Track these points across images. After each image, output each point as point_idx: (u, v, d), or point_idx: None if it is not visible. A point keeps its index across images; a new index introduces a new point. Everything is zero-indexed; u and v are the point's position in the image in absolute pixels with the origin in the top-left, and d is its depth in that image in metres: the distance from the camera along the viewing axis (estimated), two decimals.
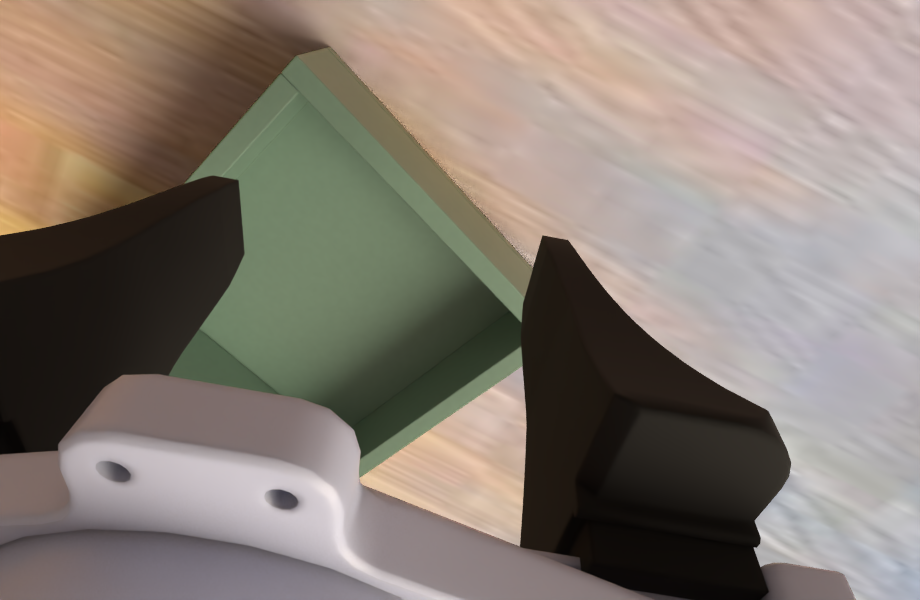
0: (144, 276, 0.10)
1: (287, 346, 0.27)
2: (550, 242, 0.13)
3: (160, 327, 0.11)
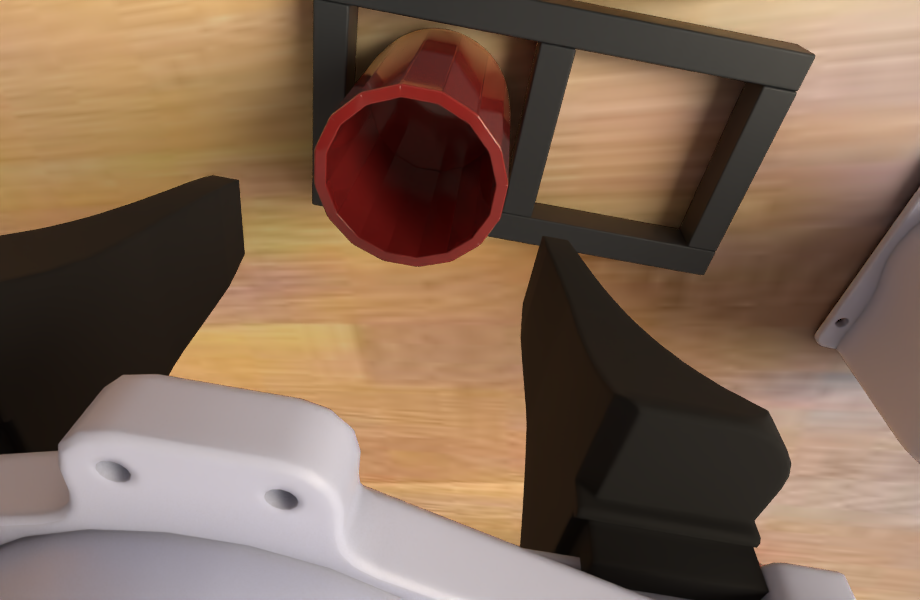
0: (144, 276, 0.10)
1: None
2: (550, 242, 0.13)
3: (160, 327, 0.11)
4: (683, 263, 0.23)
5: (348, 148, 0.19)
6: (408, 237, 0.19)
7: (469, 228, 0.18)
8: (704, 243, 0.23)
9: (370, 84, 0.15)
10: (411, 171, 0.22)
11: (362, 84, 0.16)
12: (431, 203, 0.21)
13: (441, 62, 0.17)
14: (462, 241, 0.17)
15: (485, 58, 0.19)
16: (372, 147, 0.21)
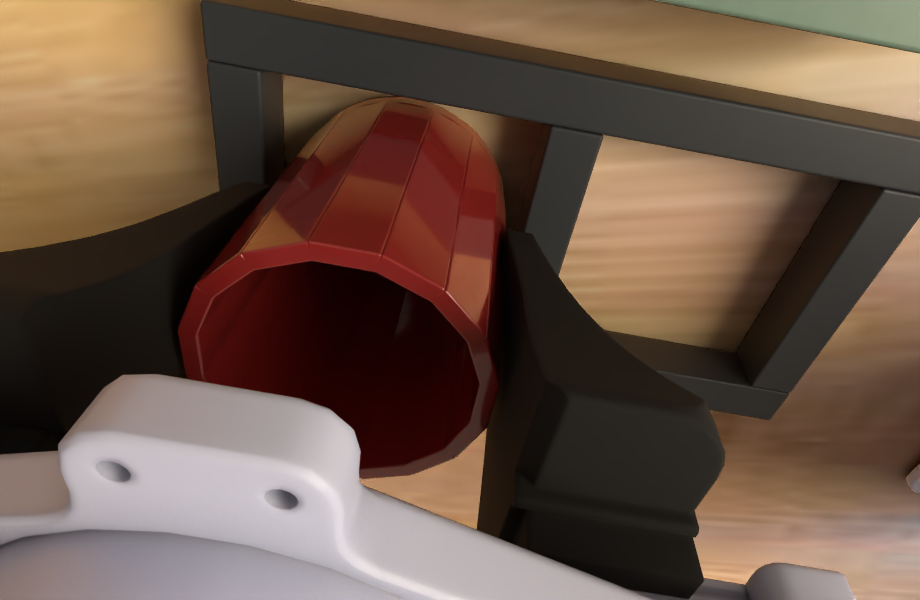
0: (187, 283, 0.10)
1: None
2: (513, 235, 0.13)
3: None
4: (743, 406, 0.17)
5: (259, 287, 0.12)
6: (349, 422, 0.12)
7: (440, 421, 0.11)
8: (774, 383, 0.16)
9: (263, 231, 0.09)
10: (367, 287, 0.16)
11: (258, 219, 0.10)
12: (391, 347, 0.14)
13: (392, 174, 0.10)
14: (428, 447, 0.11)
15: (467, 145, 0.13)
16: (307, 262, 0.15)
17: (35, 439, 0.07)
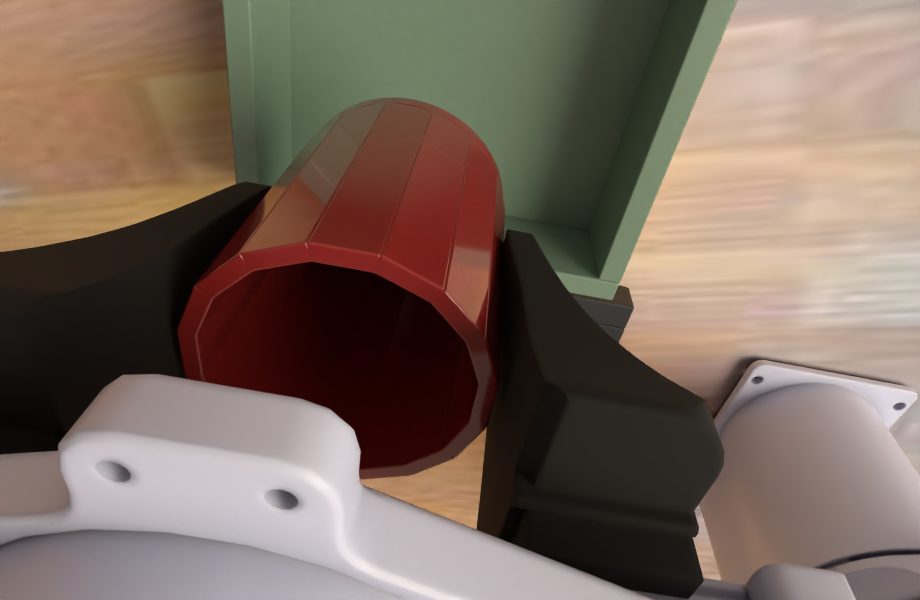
0: (187, 283, 0.10)
1: None
2: (513, 235, 0.13)
3: None
4: None
5: (258, 288, 0.12)
6: (349, 422, 0.12)
7: (439, 421, 0.11)
8: None
9: (262, 231, 0.09)
10: (367, 287, 0.16)
11: (258, 219, 0.10)
12: (391, 348, 0.14)
13: (392, 175, 0.10)
14: (427, 448, 0.11)
15: (467, 146, 0.13)
16: (307, 263, 0.15)
17: (35, 439, 0.07)
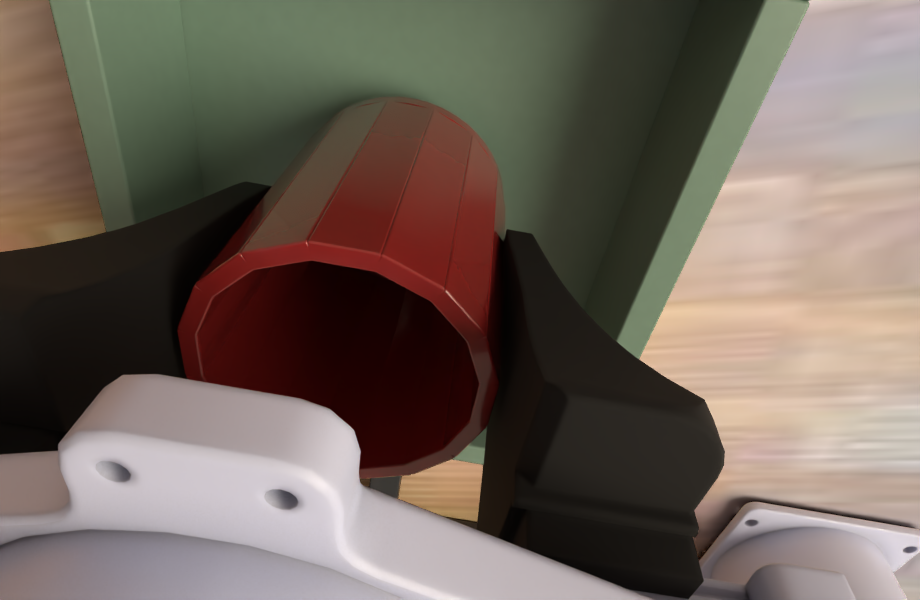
0: (187, 283, 0.10)
1: None
2: (513, 235, 0.13)
3: None
4: None
5: (259, 287, 0.12)
6: (349, 422, 0.12)
7: (440, 421, 0.11)
8: None
9: (262, 230, 0.09)
10: (367, 287, 0.16)
11: (258, 218, 0.10)
12: (391, 347, 0.14)
13: (392, 174, 0.10)
14: (428, 446, 0.11)
15: (467, 145, 0.13)
16: (307, 262, 0.15)
17: (35, 439, 0.07)
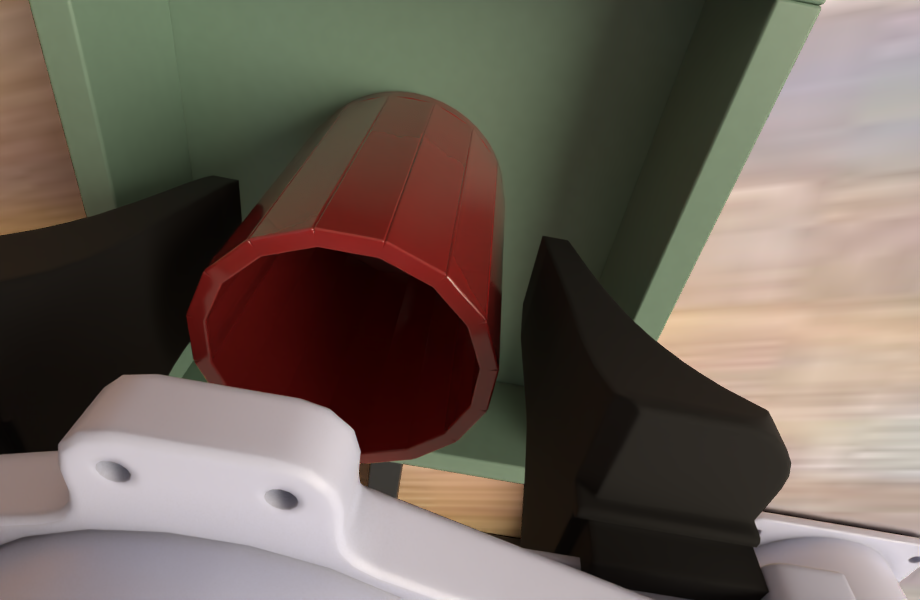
0: (144, 276, 0.10)
1: None
2: (550, 242, 0.13)
3: (160, 327, 0.11)
4: None
5: (264, 277, 0.13)
6: (353, 409, 0.13)
7: (441, 407, 0.12)
8: None
9: (269, 218, 0.09)
10: (369, 279, 0.16)
11: (264, 207, 0.10)
12: (393, 337, 0.15)
13: (395, 165, 0.11)
14: (429, 432, 0.11)
15: (468, 139, 0.13)
16: (311, 254, 0.15)
17: None
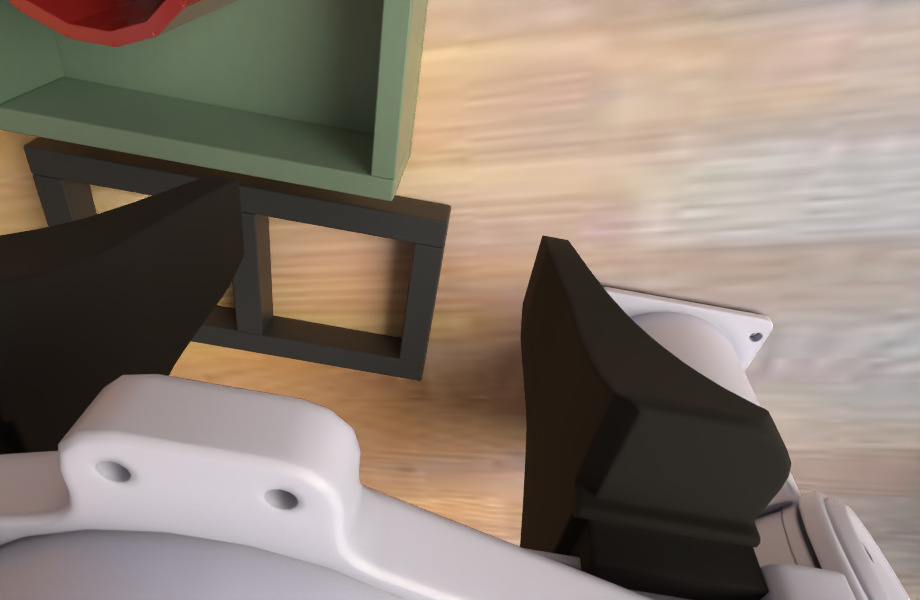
0: (144, 276, 0.10)
1: (242, 38, 0.20)
2: (550, 242, 0.13)
3: (160, 327, 0.11)
4: (400, 371, 0.27)
5: None
6: (117, 18, 0.14)
7: None
8: (411, 357, 0.26)
9: None
10: None
11: None
12: None
13: None
14: (164, 3, 0.13)
15: None
16: None
17: None
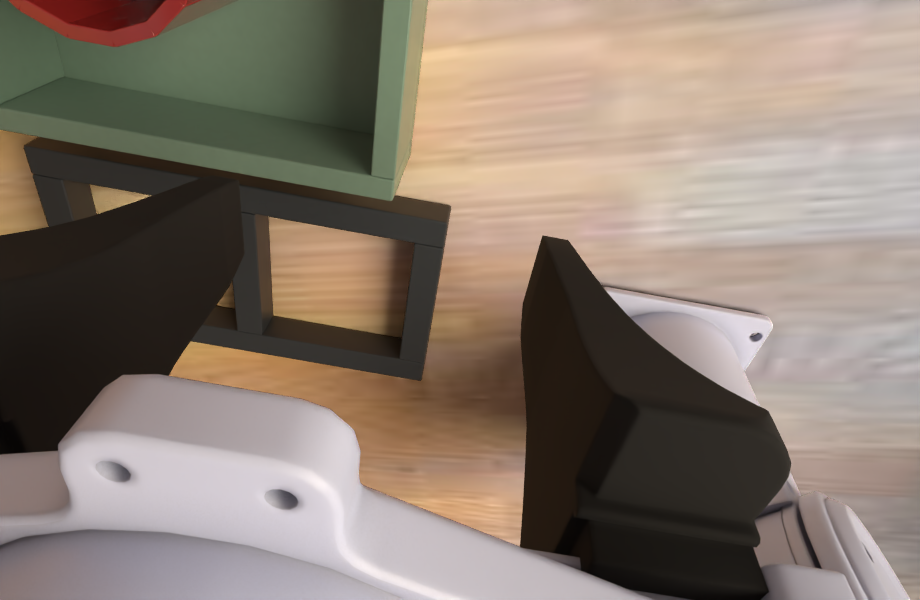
0: (144, 276, 0.10)
1: (242, 38, 0.20)
2: (550, 242, 0.13)
3: (160, 327, 0.11)
4: (400, 371, 0.27)
5: None
6: (117, 18, 0.14)
7: None
8: (411, 357, 0.26)
9: None
10: None
11: None
12: None
13: None
14: (164, 3, 0.13)
15: None
16: None
17: None
